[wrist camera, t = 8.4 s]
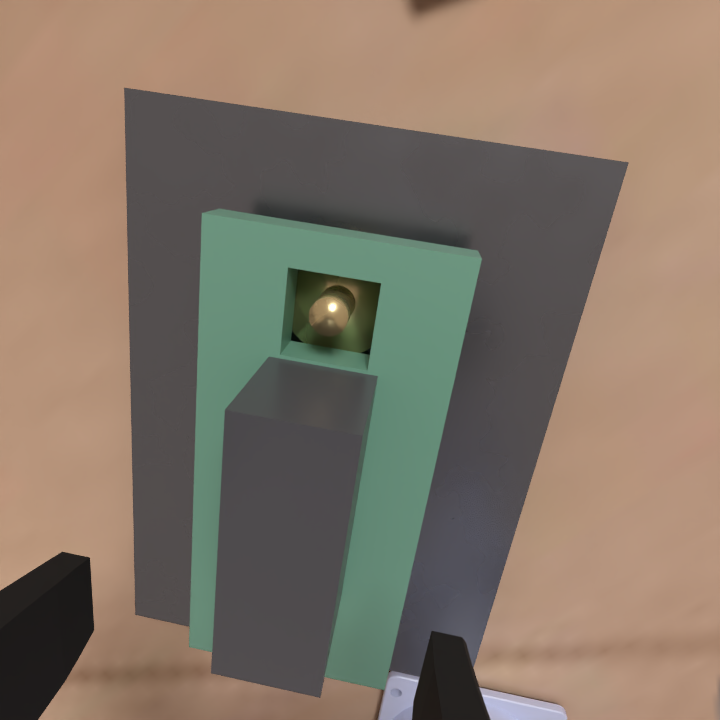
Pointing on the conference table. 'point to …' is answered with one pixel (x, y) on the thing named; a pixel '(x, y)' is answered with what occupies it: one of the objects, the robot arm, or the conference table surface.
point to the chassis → (361, 316)
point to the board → (403, 411)
